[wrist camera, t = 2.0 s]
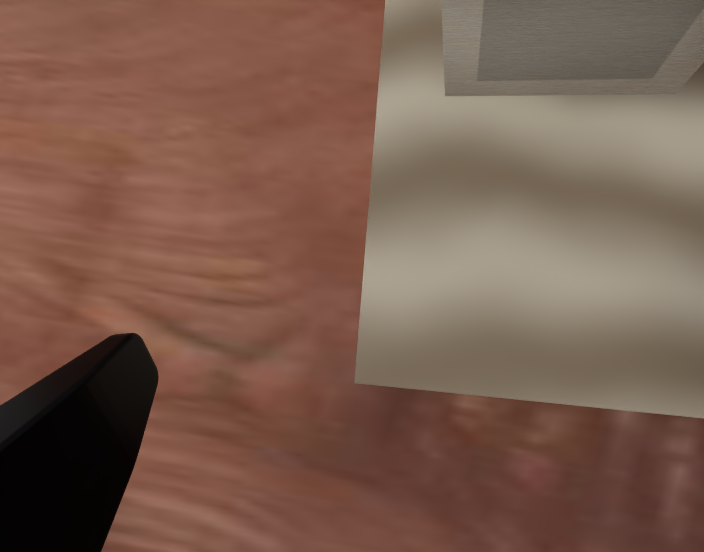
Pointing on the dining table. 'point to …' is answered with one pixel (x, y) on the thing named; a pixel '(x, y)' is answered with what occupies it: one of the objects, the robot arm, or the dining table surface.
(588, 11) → the grey cube
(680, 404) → the l-shaped wooden stand
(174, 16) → the dining table surface
